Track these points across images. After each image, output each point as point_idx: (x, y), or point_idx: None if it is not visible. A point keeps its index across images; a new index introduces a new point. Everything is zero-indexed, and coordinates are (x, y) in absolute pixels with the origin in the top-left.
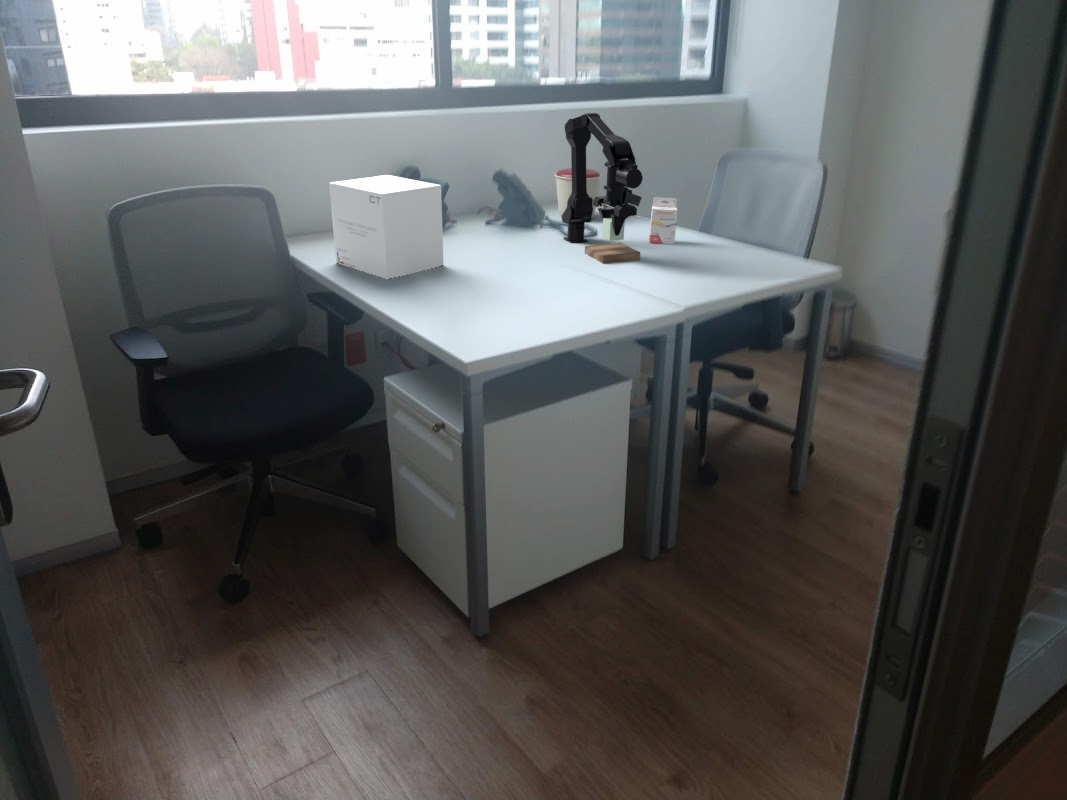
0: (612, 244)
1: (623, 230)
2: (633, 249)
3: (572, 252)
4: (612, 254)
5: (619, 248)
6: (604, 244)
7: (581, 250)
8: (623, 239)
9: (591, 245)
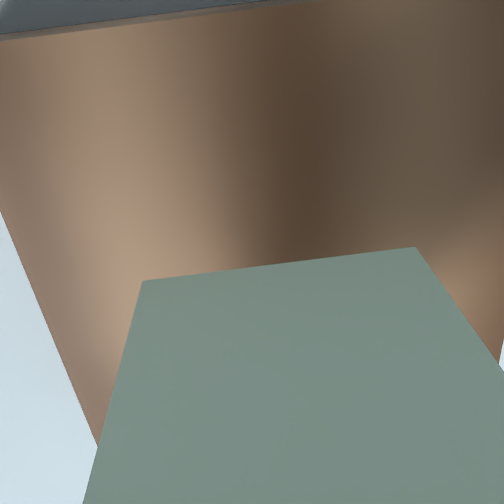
0: (45, 206)
1: (487, 368)
2: (391, 14)
3: (73, 463)
4: (497, 342)
5: (275, 192)
6: (45, 294)
7: (3, 401)
8: (416, 250)
9: (85, 413)
